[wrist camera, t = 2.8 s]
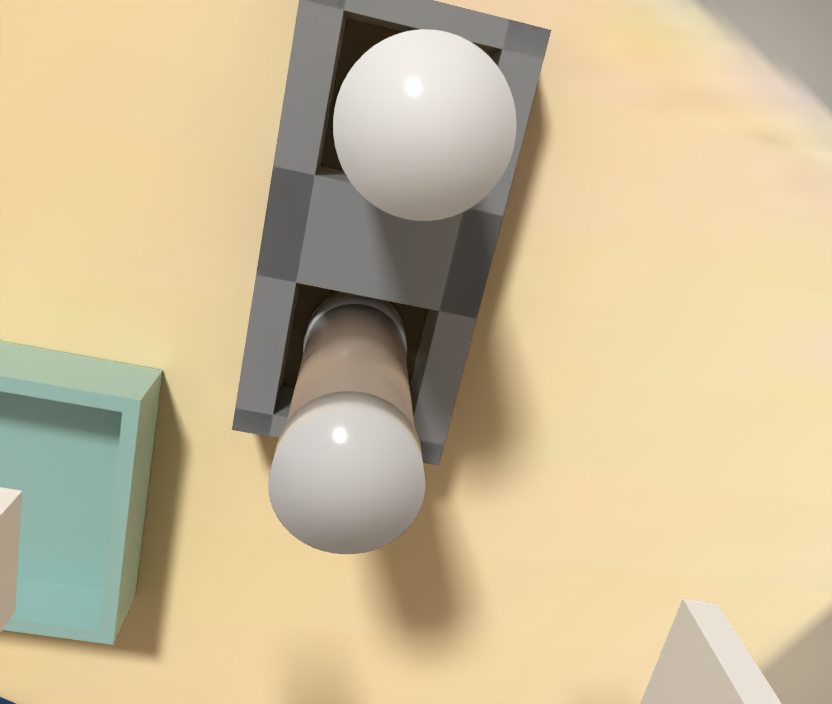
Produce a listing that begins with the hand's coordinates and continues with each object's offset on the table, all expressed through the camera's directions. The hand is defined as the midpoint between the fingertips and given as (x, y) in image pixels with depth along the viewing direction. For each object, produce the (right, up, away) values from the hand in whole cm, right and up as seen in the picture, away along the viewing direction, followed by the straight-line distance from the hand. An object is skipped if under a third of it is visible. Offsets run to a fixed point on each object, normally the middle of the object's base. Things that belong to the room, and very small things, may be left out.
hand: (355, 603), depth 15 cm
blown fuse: (-1, +6, +16) cm, 17 cm away
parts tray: (-16, 0, +17) cm, 23 cm away
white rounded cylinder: (+1, +14, +13) cm, 19 cm away
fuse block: (0, +10, +14) cm, 17 cm away
